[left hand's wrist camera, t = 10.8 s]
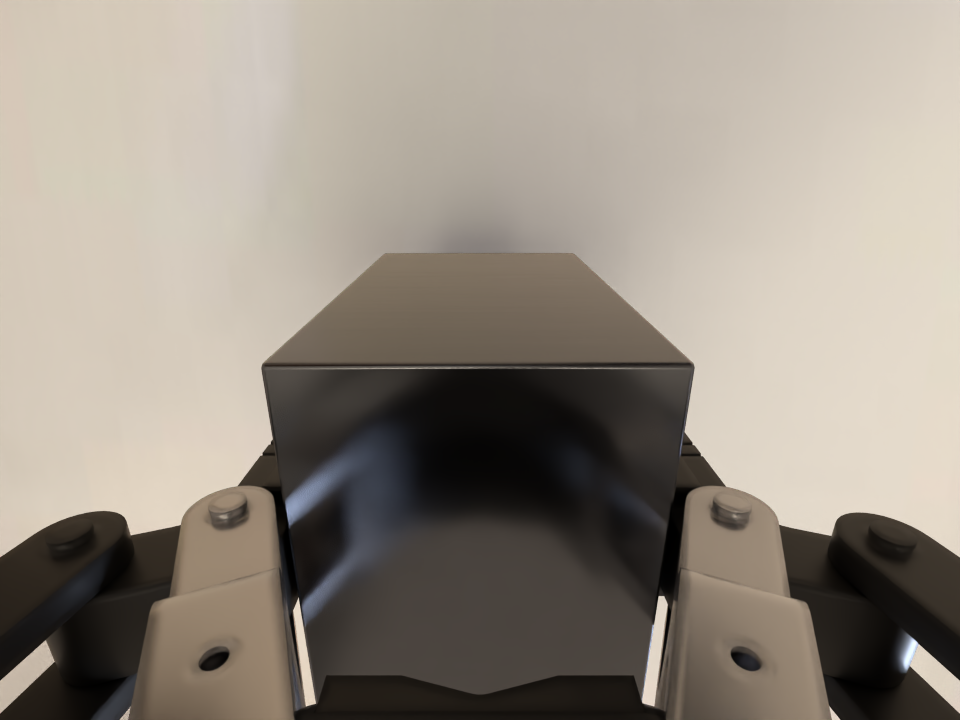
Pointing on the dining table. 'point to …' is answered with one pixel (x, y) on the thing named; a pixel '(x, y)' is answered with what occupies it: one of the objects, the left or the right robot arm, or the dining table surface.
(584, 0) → the dining table surface
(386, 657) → the bar
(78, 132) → the dining table surface
